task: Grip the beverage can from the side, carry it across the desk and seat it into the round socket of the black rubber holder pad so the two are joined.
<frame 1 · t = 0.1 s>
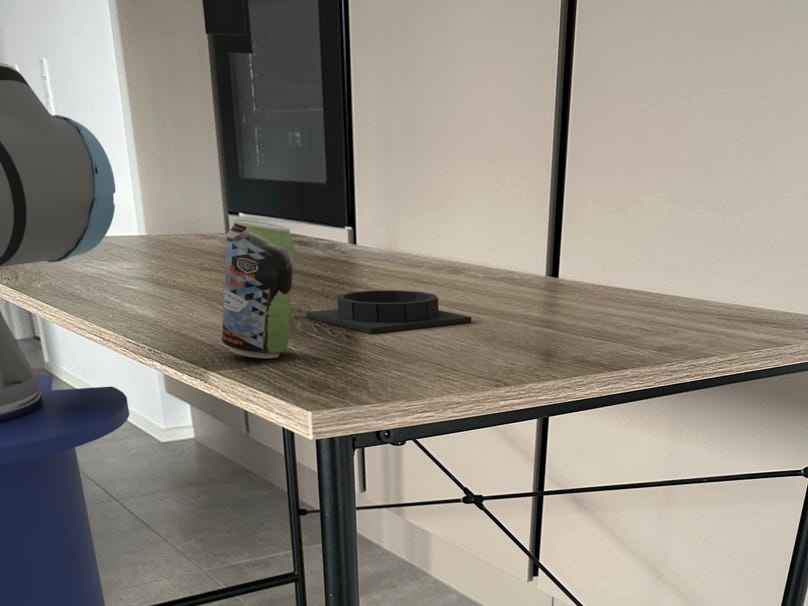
hand: (231, 45, 71), 25 cm above the table, tool pointing down, fingers open, 13 cm apart
holder pad: (388, 319, 111), on the table
beverage can: (263, 358, 90), on the table
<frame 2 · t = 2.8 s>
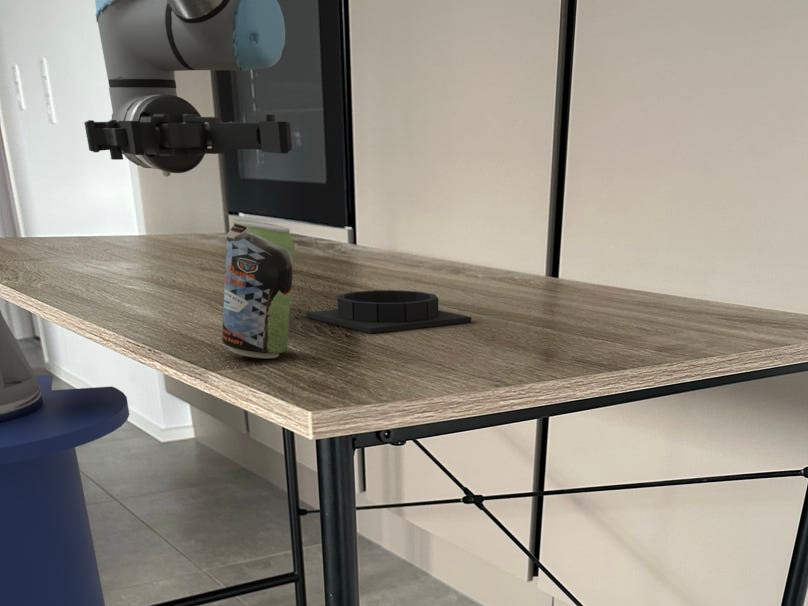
hand: (212, 137, 88), 19 cm above the table, tool horizontal, fingers open, 13 cm apart
nothing on the table moved.
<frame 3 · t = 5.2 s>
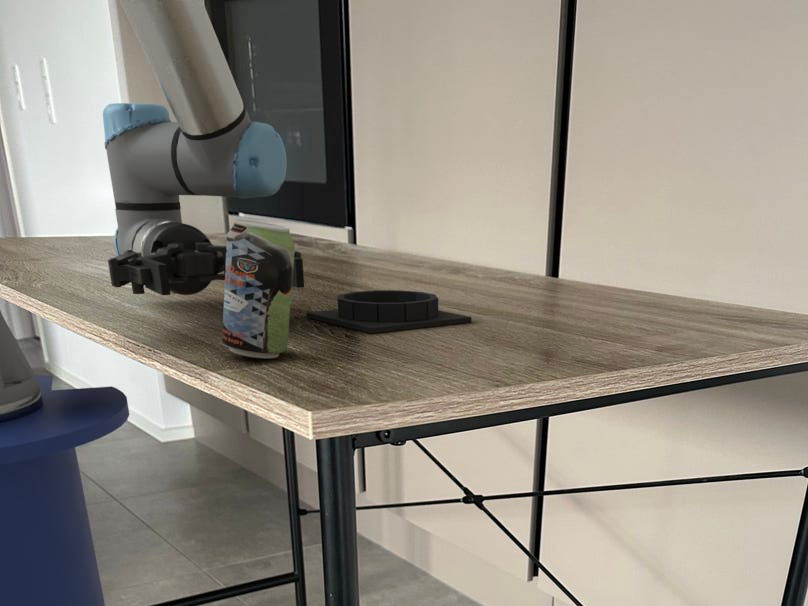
hand: (234, 276, 92), 7 cm above the table, tool horizontal, fingers open, 13 cm apart
nothing on the table moved.
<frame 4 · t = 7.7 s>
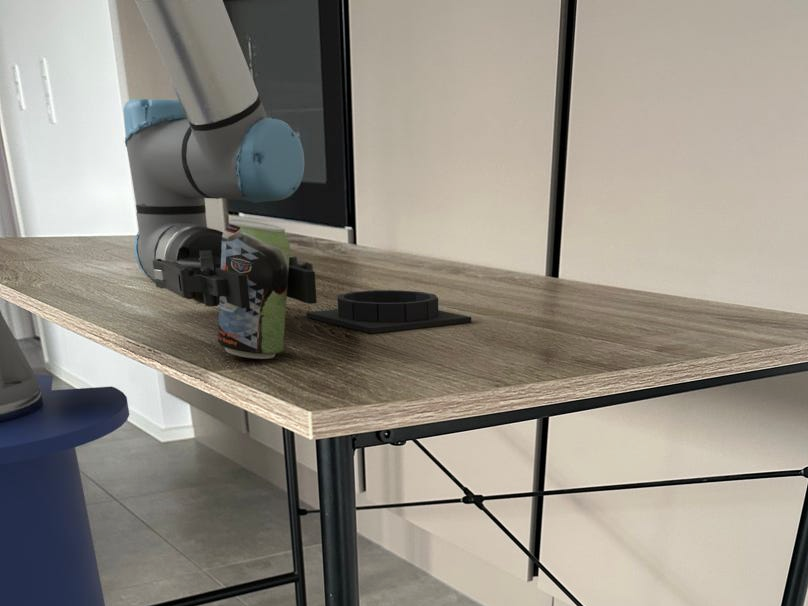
hand: (278, 289, 83), 7 cm above the table, tool horizontal, fingers open, 6 cm apart
beverage can: (259, 359, 90), on the table, touching gripper
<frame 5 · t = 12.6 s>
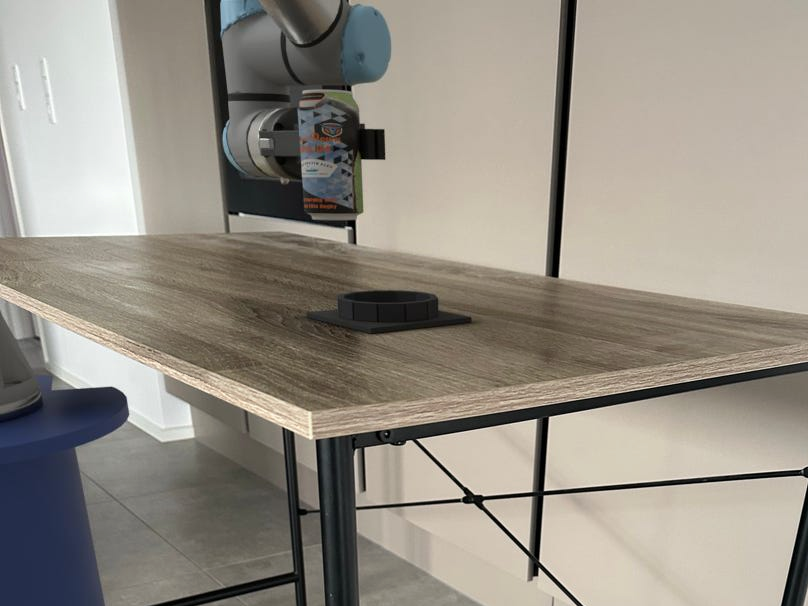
hand: (376, 144, 93), 18 cm above the table, tool horizontal, fingers closed on beverage can
beverage can: (342, 223, 97), point 11 cm above the table, touching gripper
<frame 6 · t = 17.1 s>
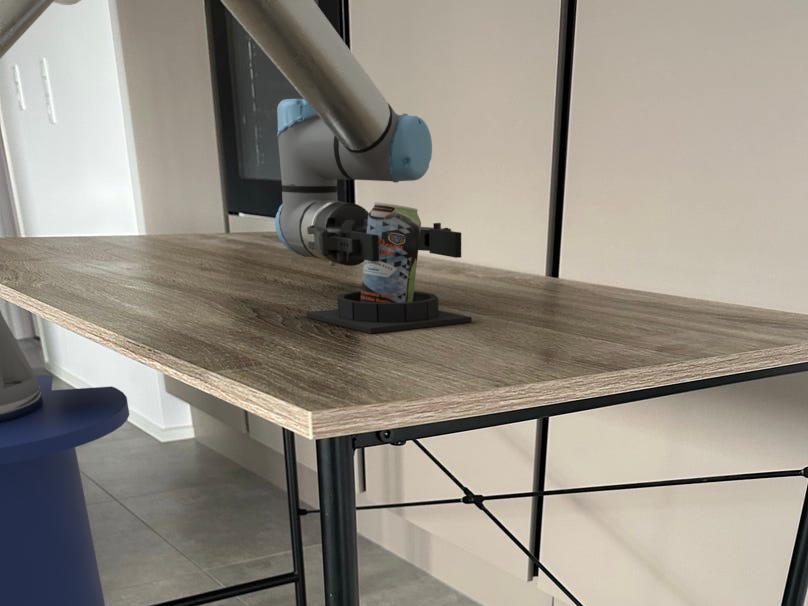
hand: (418, 246, 107), 8 cm above the table, tool horizontal, fingers open, 10 cm apart
beverage can: (391, 315, 111), resting on holder pad
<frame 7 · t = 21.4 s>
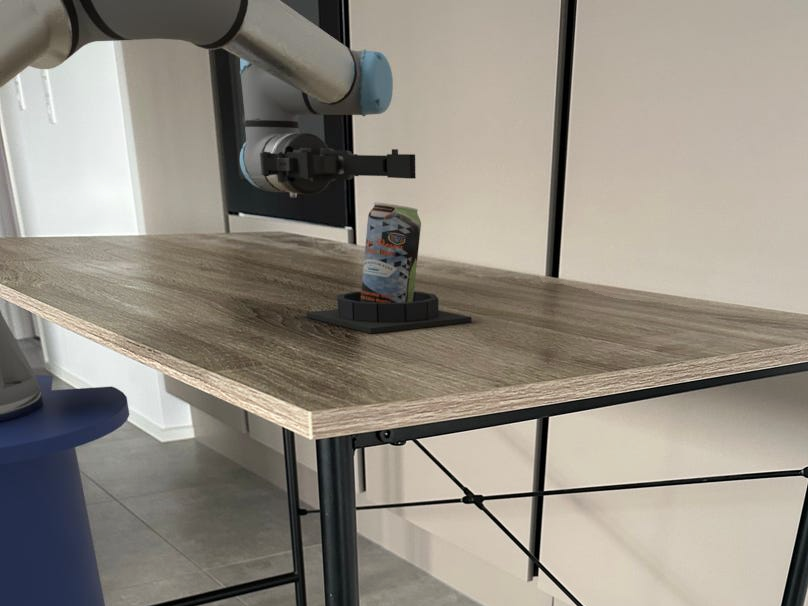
hand: (363, 165, 114), 16 cm above the table, tool horizontal, fingers open, 13 cm apart
nothing on the table moved.
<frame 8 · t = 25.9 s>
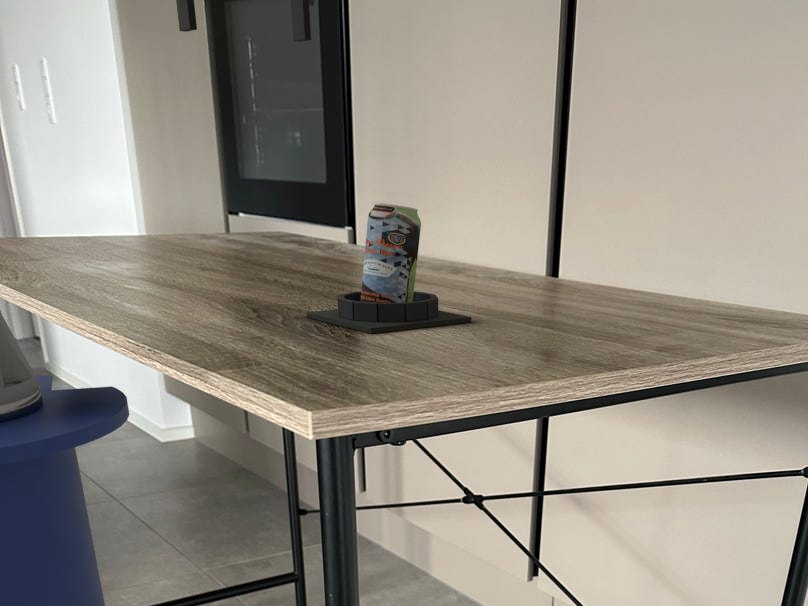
hand: (247, 36, 103), 29 cm above the table, tool pointing down, fingers open, 13 cm apart
nothing on the table moved.
at the end: beverage can 0.4 cm off-centre on the holder pad, point 0.4 cm above the holder pad's base; beverage can tilted 0°; the gripper is holding nothing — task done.
